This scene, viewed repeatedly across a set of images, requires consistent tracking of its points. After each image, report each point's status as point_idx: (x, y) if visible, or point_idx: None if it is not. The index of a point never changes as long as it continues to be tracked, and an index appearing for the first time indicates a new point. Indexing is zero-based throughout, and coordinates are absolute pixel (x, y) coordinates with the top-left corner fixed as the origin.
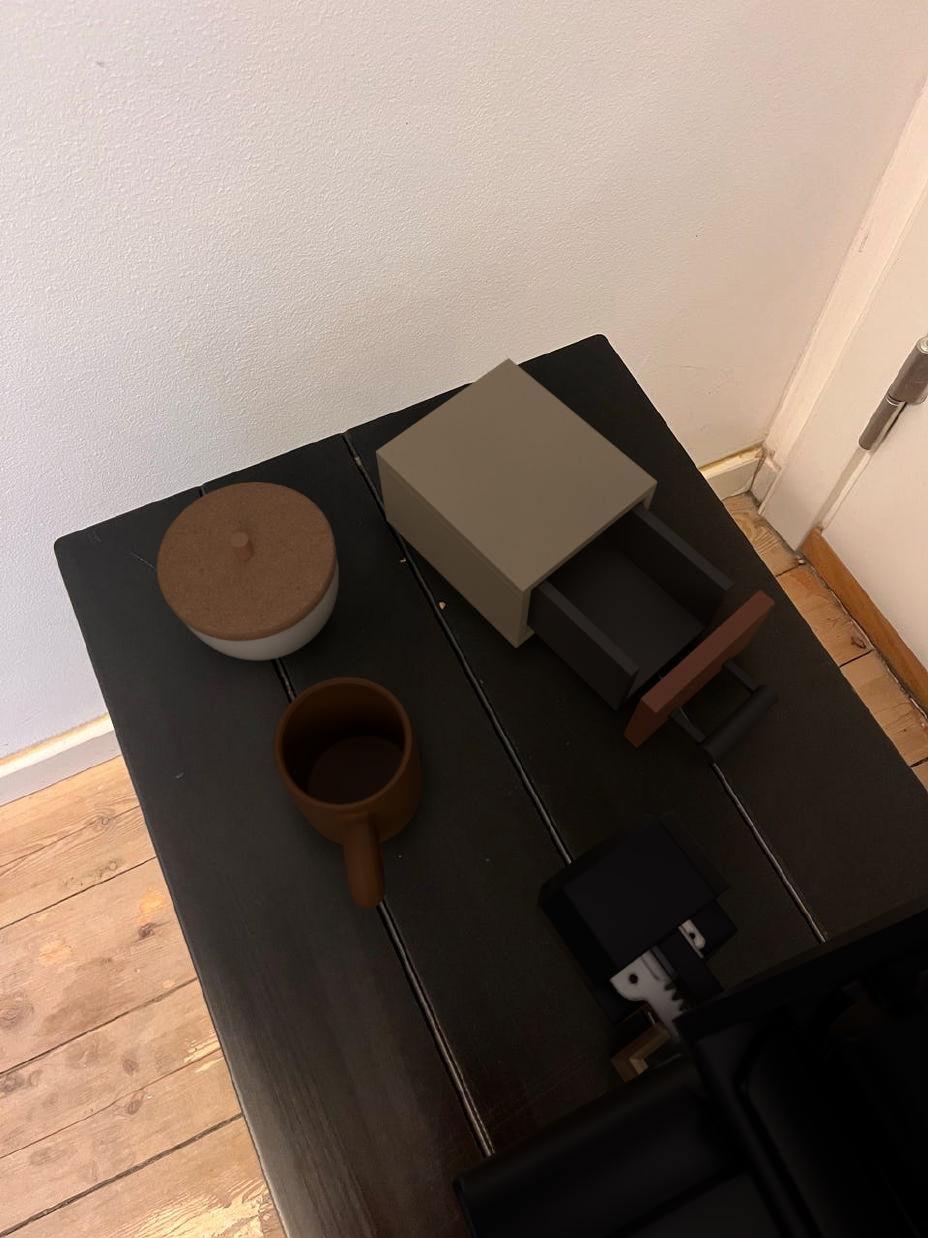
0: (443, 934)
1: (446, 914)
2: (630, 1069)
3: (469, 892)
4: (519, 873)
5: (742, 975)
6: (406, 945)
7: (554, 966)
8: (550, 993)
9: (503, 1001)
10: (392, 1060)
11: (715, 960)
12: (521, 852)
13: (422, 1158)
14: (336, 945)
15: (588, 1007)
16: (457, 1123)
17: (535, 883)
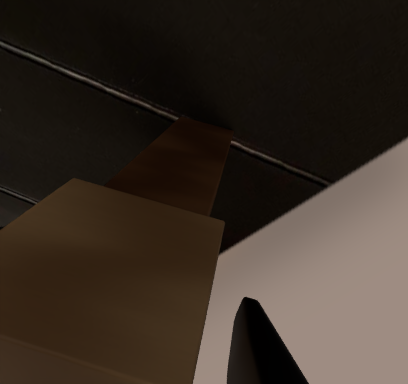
0: (33, 175)
1: (22, 163)
2: None
3: (16, 140)
4: (21, 99)
5: (214, 17)
6: (27, 195)
7: (95, 139)
8: (109, 157)
9: (93, 182)
10: None
11: (185, 26)
12: (6, 83)
13: None
14: (6, 221)
15: (135, 146)
16: None
17: (34, 96)
